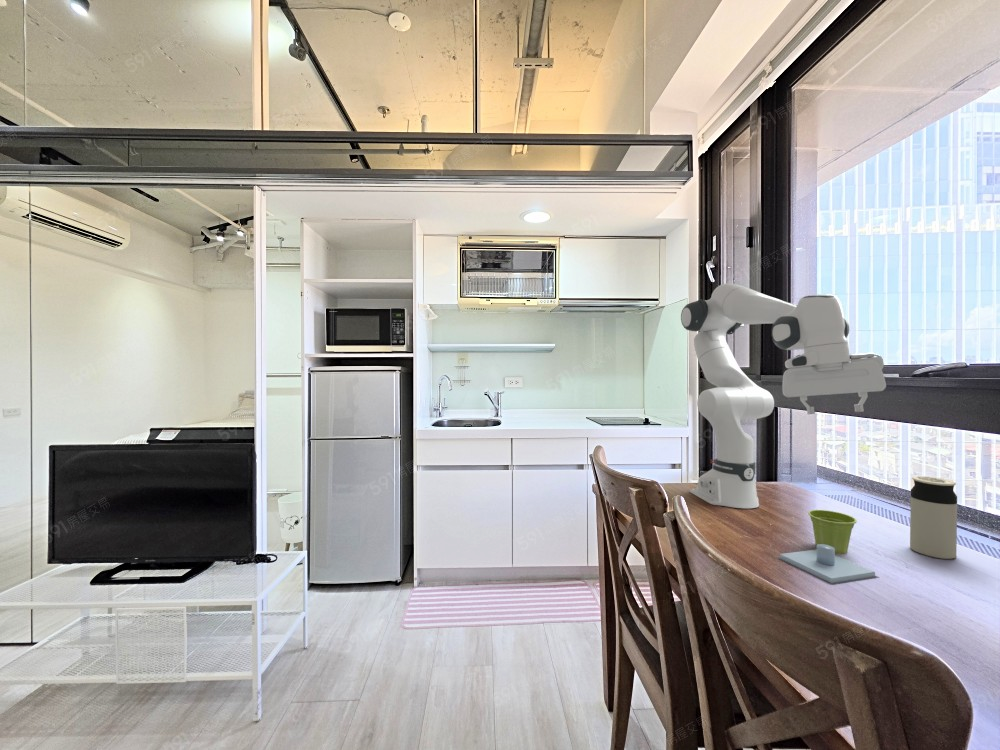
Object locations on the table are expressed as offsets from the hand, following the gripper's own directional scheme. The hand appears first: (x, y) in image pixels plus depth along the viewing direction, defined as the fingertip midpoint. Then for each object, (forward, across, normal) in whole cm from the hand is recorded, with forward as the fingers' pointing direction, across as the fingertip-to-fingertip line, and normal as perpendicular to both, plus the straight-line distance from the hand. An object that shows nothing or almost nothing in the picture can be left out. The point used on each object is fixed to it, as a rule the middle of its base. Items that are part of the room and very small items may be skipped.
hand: (834, 412), depth 105 cm
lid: (+33, +7, +13) cm, 36 cm away
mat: (+34, +7, +13) cm, 37 cm away
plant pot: (+34, +4, -1) cm, 34 cm away
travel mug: (+36, -16, -13) cm, 42 cm away
